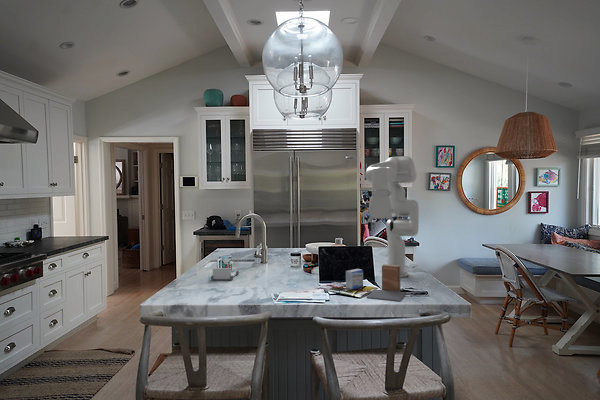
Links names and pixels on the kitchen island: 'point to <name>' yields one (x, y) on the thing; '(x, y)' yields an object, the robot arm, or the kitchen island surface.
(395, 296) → the charcoal mat
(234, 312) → the kitchen island surface
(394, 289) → the brown wooden block
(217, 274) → the grey desk organizer
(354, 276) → the medicine box
